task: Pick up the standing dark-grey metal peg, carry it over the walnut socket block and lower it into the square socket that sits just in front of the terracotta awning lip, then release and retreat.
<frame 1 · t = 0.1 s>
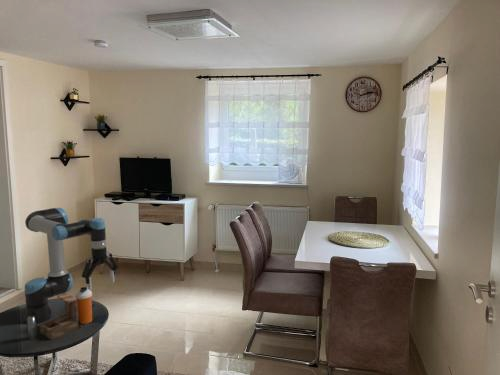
hand: (101, 285, 222), 28 cm above the table, fingers open, 13 cm apart
socket block: (60, 330, 230), on the table
peg: (32, 337, 222), on the table
shaker bottle: (85, 321, 241), on the table
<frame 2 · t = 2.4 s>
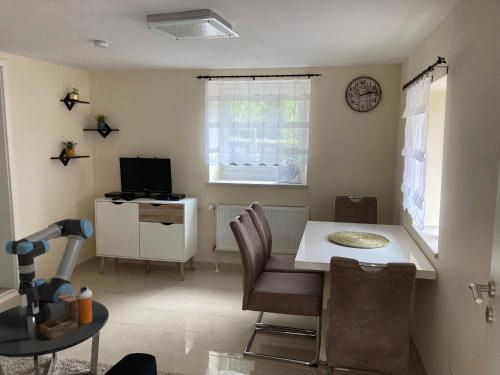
hand: (30, 309, 220), 16 cm above the table, fingers open, 13 cm apart
nothing on the table moved.
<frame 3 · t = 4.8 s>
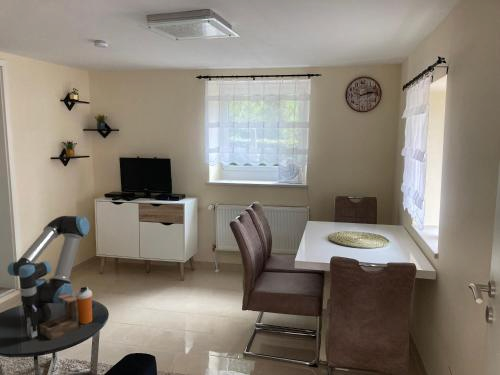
hand: (32, 335, 222), 2 cm above the table, fingers closed on peg, 3 cm apart
peg: (32, 337, 222), on the table, touching gripper
everything else where it was.
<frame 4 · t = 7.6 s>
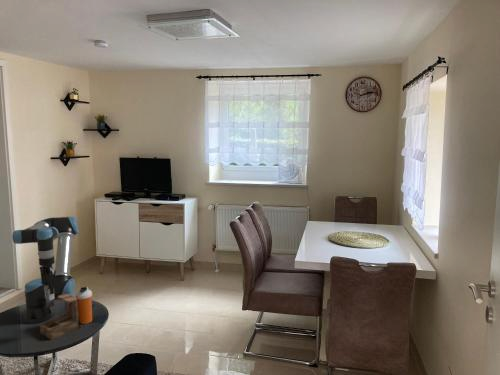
hand: (49, 298, 223), 21 cm above the table, fingers closed on peg, 4 cm apart
peg: (50, 305, 224), point 16 cm above the table, touching gripper
everything else where it was.
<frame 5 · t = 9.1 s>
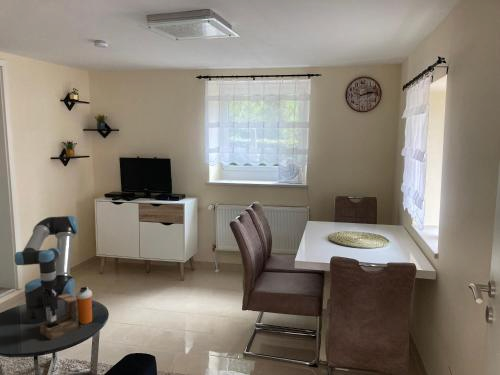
hand: (51, 319, 225), 8 cm above the table, fingers closed on peg, 4 cm apart
peg: (52, 327, 226), point 4 cm above the table, touching gripper
everything else where it was.
when the fingers open (6 cm above the table, at t = 10.4 s): peg drops 2 cm, resting in socket block.
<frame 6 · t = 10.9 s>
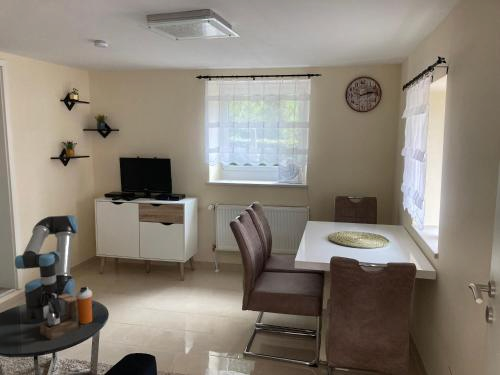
hand: (51, 320, 225), 8 cm above the table, fingers open, 11 cm apart
peg: (52, 333, 227), resting in socket block
everything else where it was.
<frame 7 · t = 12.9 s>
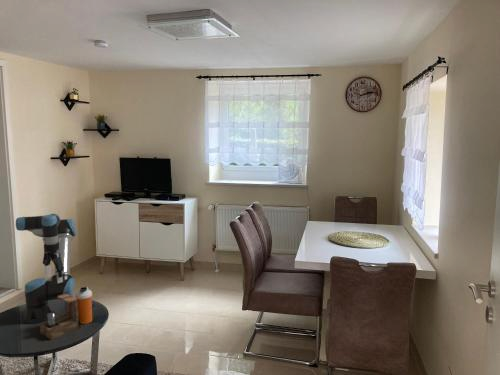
hand: (54, 279, 229), 29 cm above the table, fingers open, 13 cm apart
nothing on the table moved.
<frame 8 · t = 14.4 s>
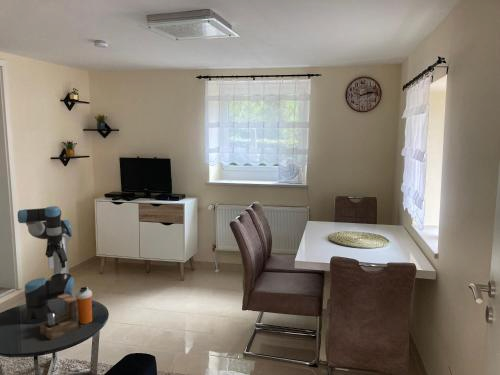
hand: (57, 270, 232), 33 cm above the table, fingers open, 13 cm apart
nothing on the table moved.
at the end: peg 0.1 cm from the target spot on the socket block, point 0.0 cm above the socket block's base; peg tilted 1°; the gripper is holding nothing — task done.
